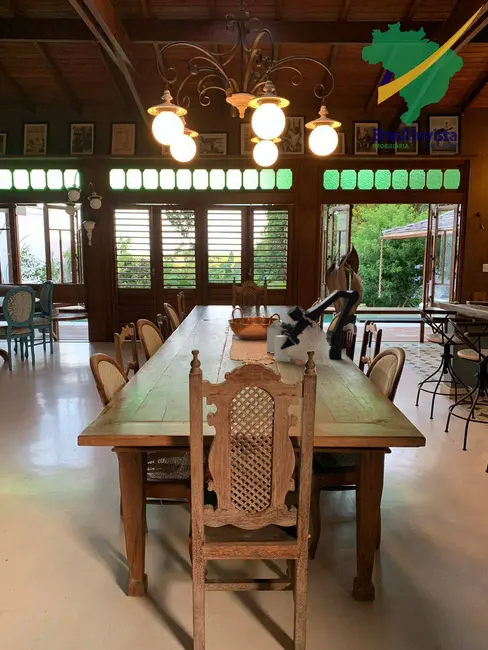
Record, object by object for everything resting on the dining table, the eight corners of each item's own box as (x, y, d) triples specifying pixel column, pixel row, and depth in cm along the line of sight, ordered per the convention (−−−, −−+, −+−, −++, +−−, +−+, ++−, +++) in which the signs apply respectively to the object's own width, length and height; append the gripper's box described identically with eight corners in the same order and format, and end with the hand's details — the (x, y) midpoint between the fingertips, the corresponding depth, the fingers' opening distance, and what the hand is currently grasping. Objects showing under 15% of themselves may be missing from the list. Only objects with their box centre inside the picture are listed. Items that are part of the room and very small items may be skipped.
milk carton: (266, 353, 280) (267, 320, 277) (271, 351, 287) (272, 319, 284) (277, 355, 277) (279, 321, 274) (282, 352, 283) (284, 320, 280)
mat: (290, 358, 270) (290, 357, 270) (290, 362, 260) (290, 361, 260) (272, 357, 271) (272, 356, 271) (271, 361, 261) (271, 360, 261)
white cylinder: (285, 357, 270) (286, 335, 268) (289, 360, 263) (290, 337, 261) (273, 357, 268) (273, 335, 266) (276, 360, 262) (277, 337, 260)
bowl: (303, 363, 258) (304, 359, 257) (304, 365, 254) (304, 361, 253) (295, 363, 258) (295, 358, 258) (295, 365, 254) (295, 360, 254)
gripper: (284, 314, 272) (264, 334, 271) (295, 319, 254) (273, 340, 253) (297, 328, 275) (277, 348, 274) (308, 334, 257) (287, 355, 256)
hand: (278, 347), depth 264 cm, fingers closed on white cylinder, 7 cm apart
